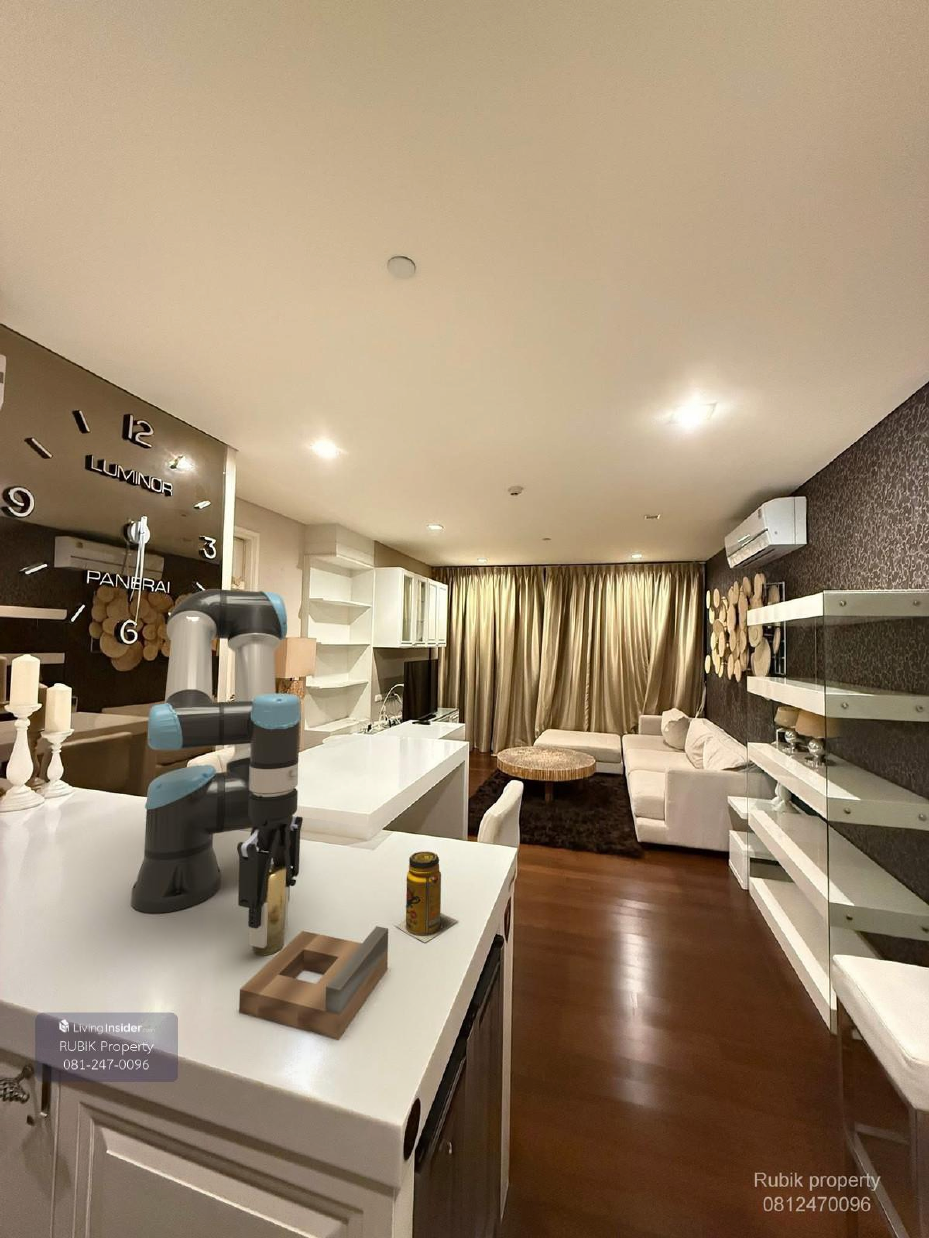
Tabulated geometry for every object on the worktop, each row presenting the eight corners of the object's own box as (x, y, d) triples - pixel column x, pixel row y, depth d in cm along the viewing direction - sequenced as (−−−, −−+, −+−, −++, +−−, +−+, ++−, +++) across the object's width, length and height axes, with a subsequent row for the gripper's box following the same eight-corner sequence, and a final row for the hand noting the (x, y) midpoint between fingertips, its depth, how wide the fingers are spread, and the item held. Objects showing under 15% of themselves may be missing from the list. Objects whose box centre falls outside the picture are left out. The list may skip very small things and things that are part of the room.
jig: (239, 1012, 66) (240, 965, 66) (301, 949, 80) (302, 911, 80) (338, 1039, 62) (340, 989, 62) (387, 968, 75) (388, 928, 76)
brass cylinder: (246, 951, 79) (249, 874, 79) (266, 935, 83) (268, 862, 84) (271, 957, 77) (273, 879, 78) (289, 940, 82) (291, 866, 82)
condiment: (395, 927, 86) (396, 856, 87) (429, 907, 93) (430, 842, 93) (424, 944, 82) (426, 869, 82) (458, 922, 88) (459, 853, 89)
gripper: (256, 809, 72) (250, 975, 71) (323, 777, 89) (319, 911, 88) (213, 804, 74) (207, 964, 73) (287, 773, 91) (283, 904, 90)
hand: (268, 935), depth 80 cm, fingers closed on brass cylinder, 4 cm apart
